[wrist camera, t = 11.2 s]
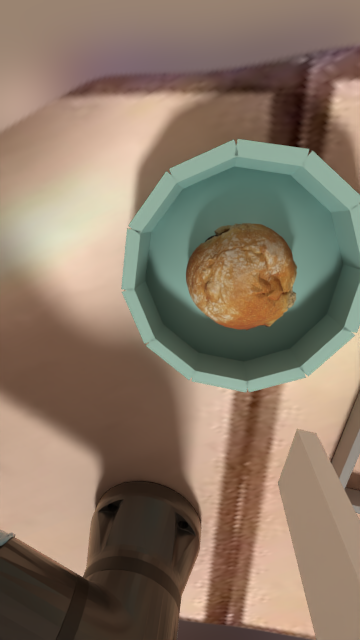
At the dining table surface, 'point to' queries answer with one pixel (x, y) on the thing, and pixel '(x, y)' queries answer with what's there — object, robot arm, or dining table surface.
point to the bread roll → (242, 276)
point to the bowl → (256, 208)
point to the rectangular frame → (349, 454)
